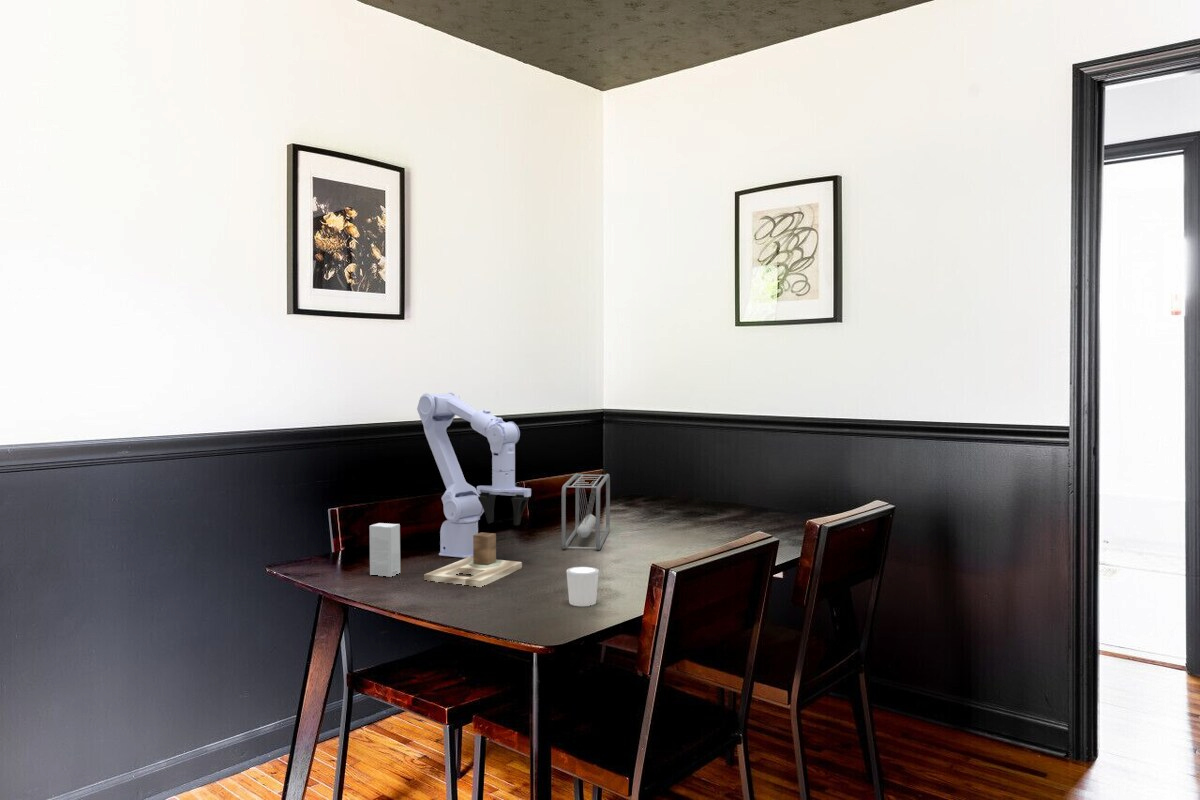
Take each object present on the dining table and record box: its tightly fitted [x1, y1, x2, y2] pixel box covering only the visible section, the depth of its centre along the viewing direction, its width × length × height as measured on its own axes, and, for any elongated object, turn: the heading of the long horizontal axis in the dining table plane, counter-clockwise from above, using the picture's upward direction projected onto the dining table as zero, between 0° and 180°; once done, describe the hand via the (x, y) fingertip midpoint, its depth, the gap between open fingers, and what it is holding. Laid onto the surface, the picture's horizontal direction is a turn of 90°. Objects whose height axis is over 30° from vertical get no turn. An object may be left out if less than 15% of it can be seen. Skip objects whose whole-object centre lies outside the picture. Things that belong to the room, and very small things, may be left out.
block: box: [473, 532, 497, 565], centre depth 208 cm, size 4×4×7 cm
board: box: [423, 557, 523, 588], centre depth 203 cm, size 15×20×2 cm
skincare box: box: [368, 522, 401, 578], centre depth 203 cm, size 6×4×12 cm
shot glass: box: [566, 566, 600, 607], centre depth 179 cm, size 7×7×7 cm
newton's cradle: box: [561, 472, 611, 551], centre depth 244 cm, size 30×10×18 cm, turn 174°
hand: (503, 523), depth 215 cm, fingers open, 7 cm apart
